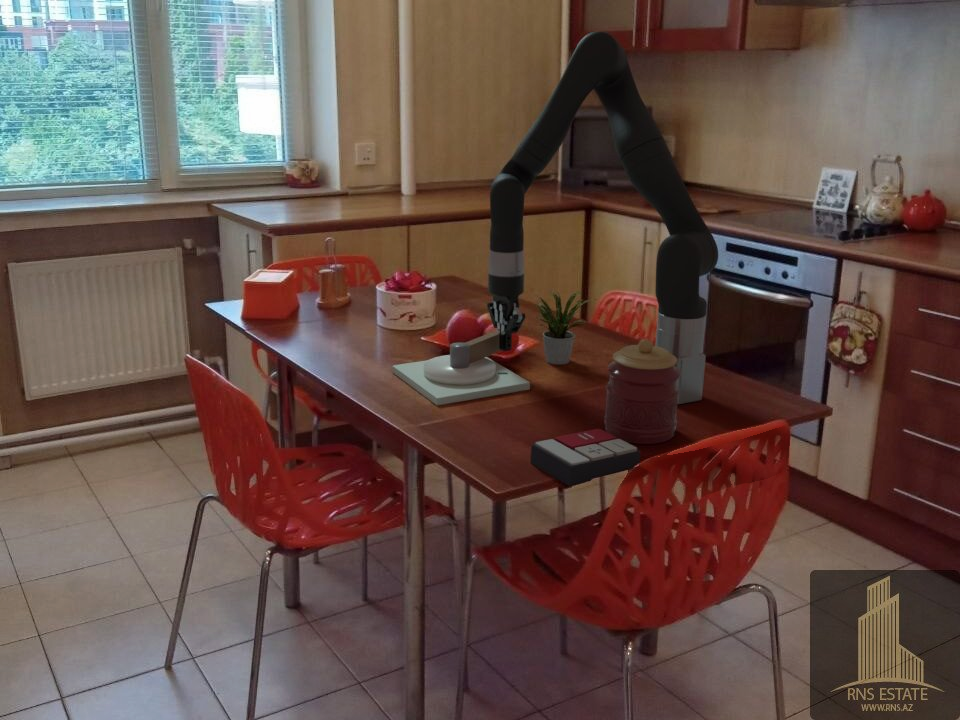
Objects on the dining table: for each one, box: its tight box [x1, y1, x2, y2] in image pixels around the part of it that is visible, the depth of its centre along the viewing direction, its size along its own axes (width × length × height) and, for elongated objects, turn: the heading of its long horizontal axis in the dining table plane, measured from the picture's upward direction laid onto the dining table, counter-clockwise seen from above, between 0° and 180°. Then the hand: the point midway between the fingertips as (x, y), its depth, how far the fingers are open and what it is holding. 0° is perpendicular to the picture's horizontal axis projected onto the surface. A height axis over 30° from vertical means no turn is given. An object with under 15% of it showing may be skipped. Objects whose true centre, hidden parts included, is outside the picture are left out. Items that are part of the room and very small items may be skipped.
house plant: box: [534, 290, 597, 366], centre depth 208 cm, size 14×14×16 cm
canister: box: [603, 338, 681, 445], centre depth 169 cm, size 13×13×18 cm
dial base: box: [391, 356, 531, 406], centre depth 196 cm, size 22×21×2 cm
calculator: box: [529, 428, 642, 487], centre depth 157 cm, size 11×4×15 cm
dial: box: [424, 329, 502, 385], centre depth 198 cm, size 24×15×6 cm, turn 145°
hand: (505, 349), depth 203 cm, fingers closed
